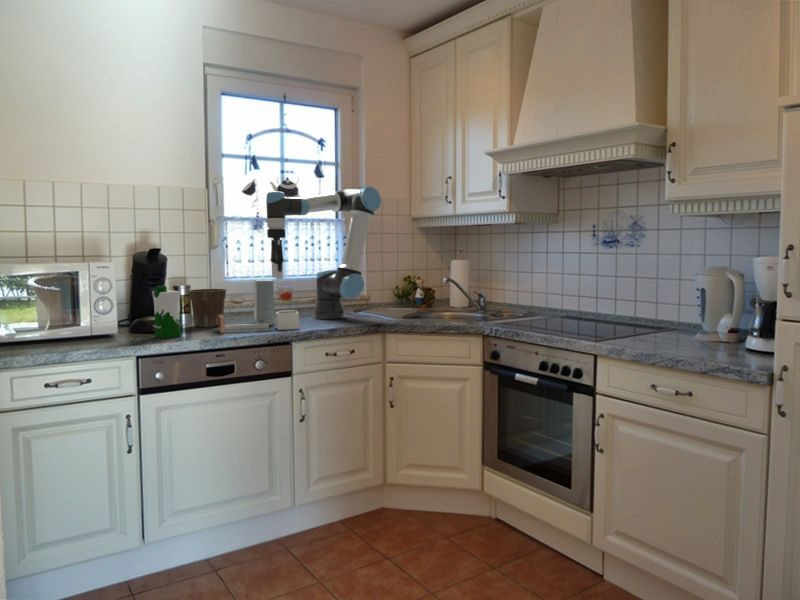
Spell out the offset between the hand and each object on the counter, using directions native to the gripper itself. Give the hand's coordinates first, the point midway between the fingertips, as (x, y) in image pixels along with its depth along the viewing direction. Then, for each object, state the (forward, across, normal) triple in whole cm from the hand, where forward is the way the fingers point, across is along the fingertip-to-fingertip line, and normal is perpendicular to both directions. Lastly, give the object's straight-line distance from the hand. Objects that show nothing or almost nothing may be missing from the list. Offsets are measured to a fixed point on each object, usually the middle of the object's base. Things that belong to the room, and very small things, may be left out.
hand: (277, 278), depth 262 cm
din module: (+22, +2, +3) cm, 22 cm away
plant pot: (+22, -17, -28) cm, 39 cm away
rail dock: (+21, +3, -15) cm, 26 cm away
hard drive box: (+22, -16, -4) cm, 28 cm away
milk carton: (+21, +11, -44) cm, 50 cm away
